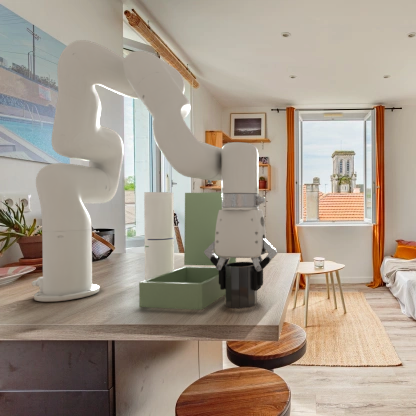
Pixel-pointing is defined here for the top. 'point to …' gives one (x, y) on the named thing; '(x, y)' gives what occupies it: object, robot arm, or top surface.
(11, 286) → the top surface
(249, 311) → the top surface
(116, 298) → the top surface
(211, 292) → the open green box
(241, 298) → the cup
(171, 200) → the cylindrical container
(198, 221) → the lid
